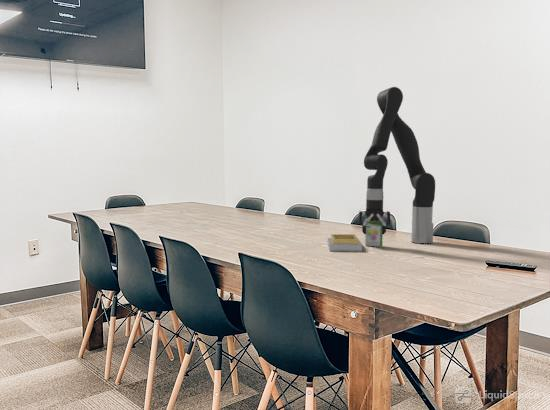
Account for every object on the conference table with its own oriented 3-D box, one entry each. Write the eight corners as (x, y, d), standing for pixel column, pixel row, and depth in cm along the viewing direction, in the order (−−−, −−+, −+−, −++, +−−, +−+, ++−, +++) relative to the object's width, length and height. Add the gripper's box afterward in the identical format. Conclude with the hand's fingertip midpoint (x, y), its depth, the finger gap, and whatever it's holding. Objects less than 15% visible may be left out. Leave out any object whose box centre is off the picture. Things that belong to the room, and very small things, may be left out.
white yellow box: (357, 246, 249) (358, 234, 249) (361, 253, 233) (362, 239, 233) (327, 246, 250) (327, 233, 249) (329, 252, 234) (329, 239, 233)
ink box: (365, 246, 246) (365, 217, 245) (367, 244, 249) (368, 216, 248) (379, 247, 243) (380, 218, 241) (382, 246, 246) (383, 217, 245)
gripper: (389, 197, 247) (388, 232, 249) (358, 197, 248) (357, 232, 249) (392, 199, 240) (391, 235, 241) (359, 199, 240) (359, 235, 242)
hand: (373, 233), depth 245 cm, fingers closed on ink box, 8 cm apart
